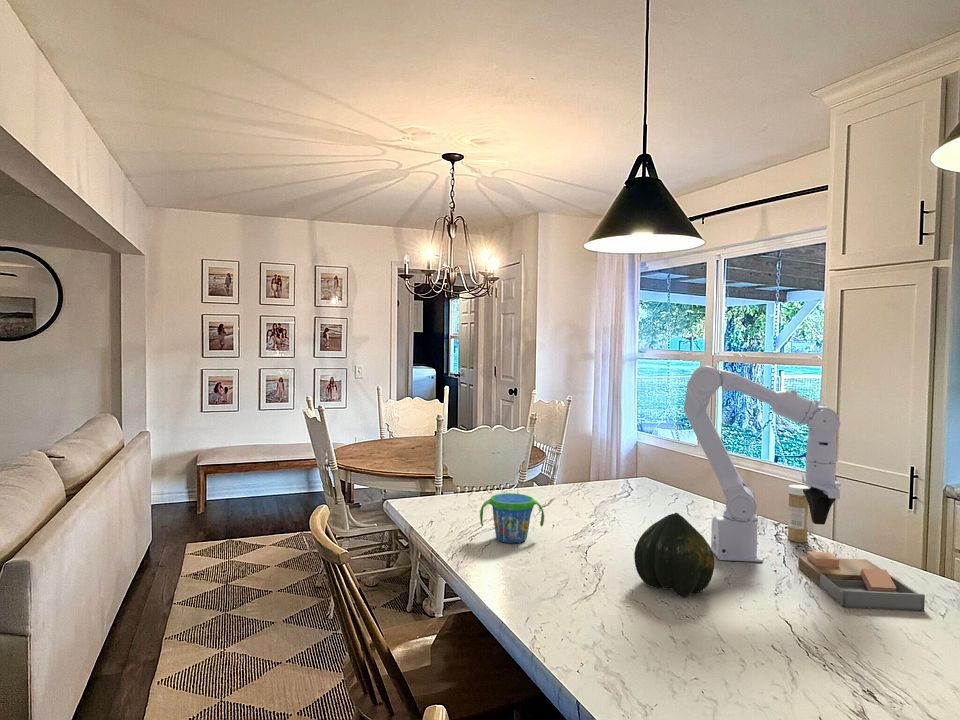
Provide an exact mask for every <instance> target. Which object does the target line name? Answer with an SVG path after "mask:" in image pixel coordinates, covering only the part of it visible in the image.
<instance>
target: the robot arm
mask: <svg viewBox="0 0 960 720" xmlns="http://www.w3.org/2000/svg"><path fill="white" fill-rule="evenodd" d="M686 384H687V385H686V392H685V398H684V404H683V412H684V414H685V416H686V418H687V421H688V422H689V424H690V426H691V428H692V431H693V432H694V435H695V437H696V438H697V441H698V443H699V445H700V446H701V448H702V451H703V453H704V454H705V456H706V458H707V461H708V462H709V464H710V466H711V469H712V471H713V472H714V474H715V476H716V478H717V480H718V483H719V485H720V488H721V490H722V493H723V496H724V498H725V509H726V510H724V511H723V515H719V516H717V515H715V516H713V517H712V520H711V533H710V534H711V535H710V536H711V541H710V543H711V545H710V547H711V549H712V552H713V555H715V557H716V558H717V559H718V560H720V561H733V562H735V561H736V562H756V563H757V562H758V563H762V562H764V559H763V558H762V557H761V556H760V555H759V554H758V519H759V516H758V515H757V514H756V512H757V509H758V508H757V507H758V505H757V502H756V495H755V492H754V490H753V489H752V488H751V487H750V486H749V485H747V484H746V483H745V482H744V480H743V477H742V476H741V474H740V473H739V472H738V469H737V468H736V466H735V464H734V462H733V459H732V458H731V456H730V453H729V452H728V450H727V448H726V446H725V444H724V441H723V440H722V438H721V436H720V434H719V432H718V430H717V428H716V426H715V424H714V422H713V421H712V418H711V416H710V414H709V413H708V411H707V408H708V405H709V403H710V401H711V398H712V396H714V394H715V393H716V392H717V391H718V390H719V389H720V387H721V392H731V391H732V392H733V391H736V392H738V393H741V394H744V395H746V396H749V397H751V398H753V399H756V400H759V401H760V402H763V403H766V404H768V405H770V408H771V410H772V412H773V413H774V414H777V415H778V416H781V417H783V418H785V419H787V420H790V421H792V422H795V423H796V424H798V425H801V426H804V425H807V426H808V429H807V439H806V452H805V453H806V454H805V455H806V456H805V459H806V460H805V474H802V476H801V483H802V484H804V485H805V486H807V487H809V489H803V493H804V494H805V496H806V499H807V501H808V510H809V513H810V518H811V522H812V523H813V524H815V525H822V526H823V525H825V524H826V523H827V520H828V519H827V518H828V516H829V513H830V509H831V508H832V506H833V504H834V503H835V501H836V500H839V499H841V498H840V497H841V489H840V488H838V487H841V486H842V482H839V481H836V474H837V473H836V472H837V468H836V467H837V447H838V446H837V445H838V442H837V437H838V434H837V431H838V430H839V428H840V426H841V421H840V417H839V415H838V413H836V411H835V410H834V409H832V408H830V407H829V406H826V405H825V404H821V403H820V401H819V400H817V399H814V400H811V399H809V398H807V397H804V396H802V395H799V394H798V393H799V392H798V391H797V390H794V389H790V390H788V389H782V390H779V391H775V390H772V389H770V388H768V387H766V386H764V385H763V384H760V383H758V382H755V381H753V380H751V379H749V378H747V377H744V376H743V375H740V374H738V373H736V372H732V371H728V370H725V369H722V368H719V369H717V368H715V366H712V365H709V364H708V365H707V364H705V365H702V366H699V367H698V368H696V369H695V370H694V371H693V372H692V374H691V376H690V378H689V380H688V381H687V383H686Z"/></svg>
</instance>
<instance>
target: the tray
mask: <svg viewBox="0 0 960 720" xmlns="http://www.w3.org/2000/svg"><path fill="white" fill-rule="evenodd" d="M892 581H893V583H894V584H895V586H896V588H897V589H896V591H895V593H894V592H873V591H868V589H867V587H866V585H865V583H864V581H856V580H834V579H828V578H827V577H826V576H824V575H823V574H820V585H819V587H820V588H821V589H822V590H823V592H825V593H827V595H829V596H830V597H831V598H832V599H833V600H834V601H836V603H837V604H839V605H840V606H842V608H849V609H850V608H851V609H852V608H853V609H869V610H872V609H874V610H891V611H908V612H909V611H911V612H912V611H913V612H925V606H926V605H925V603H926V602H925V601H926V595H925V594H924V593H919V592H918V591H915V590H914V589H913V588H911V587H909V586H908V585H906V584H905V583H903V582H902V581H900V579H898V578H896V577H895V576H892Z"/></svg>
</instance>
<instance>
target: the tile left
mask: <svg viewBox="0 0 960 720" xmlns="http://www.w3.org/2000/svg"><path fill="white" fill-rule="evenodd" d="M806 557H807V559H808V560H809V561H810V562H812V563H813V564H814V565H815V566H822V567H839V559H838V558H839V557H836V556H835V555H834V554H832V553H831V552H828V551H810V550H809V551H808V550H807V551H806Z"/></svg>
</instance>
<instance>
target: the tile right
mask: <svg viewBox="0 0 960 720" xmlns="http://www.w3.org/2000/svg"><path fill="white" fill-rule="evenodd" d="M880 569H881V568H880ZM880 569H862V570H861V573H860V575H861V577H862V579H863V581H864V583H865V585H866V587H867V589H868V591H873V592H894V593H895V591H896V589H897V588H896V586H895V584H894V583H893V581H892V579H891V577H890V574H889V571H888V570H887V569H882V570H880Z"/></svg>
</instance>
